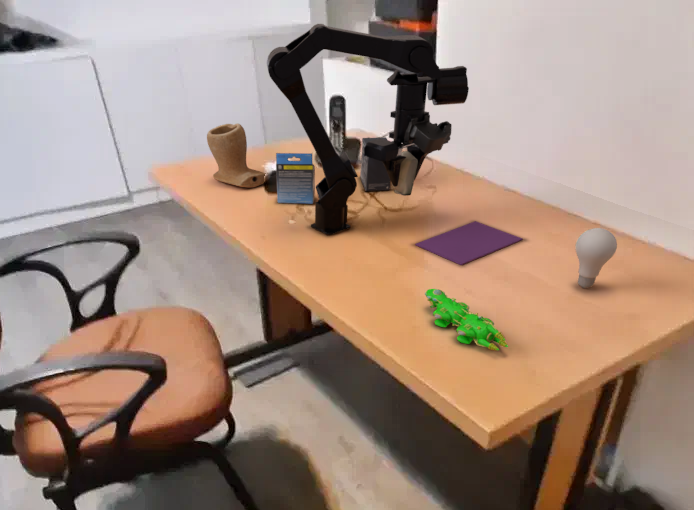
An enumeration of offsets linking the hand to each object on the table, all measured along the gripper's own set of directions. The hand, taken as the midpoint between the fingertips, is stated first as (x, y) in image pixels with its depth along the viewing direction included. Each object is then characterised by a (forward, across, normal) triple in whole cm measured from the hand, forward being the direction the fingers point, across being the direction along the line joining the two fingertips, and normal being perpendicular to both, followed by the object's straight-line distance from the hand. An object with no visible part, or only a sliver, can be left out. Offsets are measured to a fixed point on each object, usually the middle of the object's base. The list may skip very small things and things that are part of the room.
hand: (403, 183), depth 133 cm
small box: (+9, +13, +22) cm, 27 cm away
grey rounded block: (+2, 0, 0) cm, 2 cm away
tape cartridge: (+9, -9, +26) cm, 29 cm away
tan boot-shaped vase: (+9, -13, +47) cm, 50 cm away
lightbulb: (+9, +4, -41) cm, 42 cm away
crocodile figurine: (+9, -23, -37) cm, 45 cm away
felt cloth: (+9, +4, -16) cm, 19 cm away
